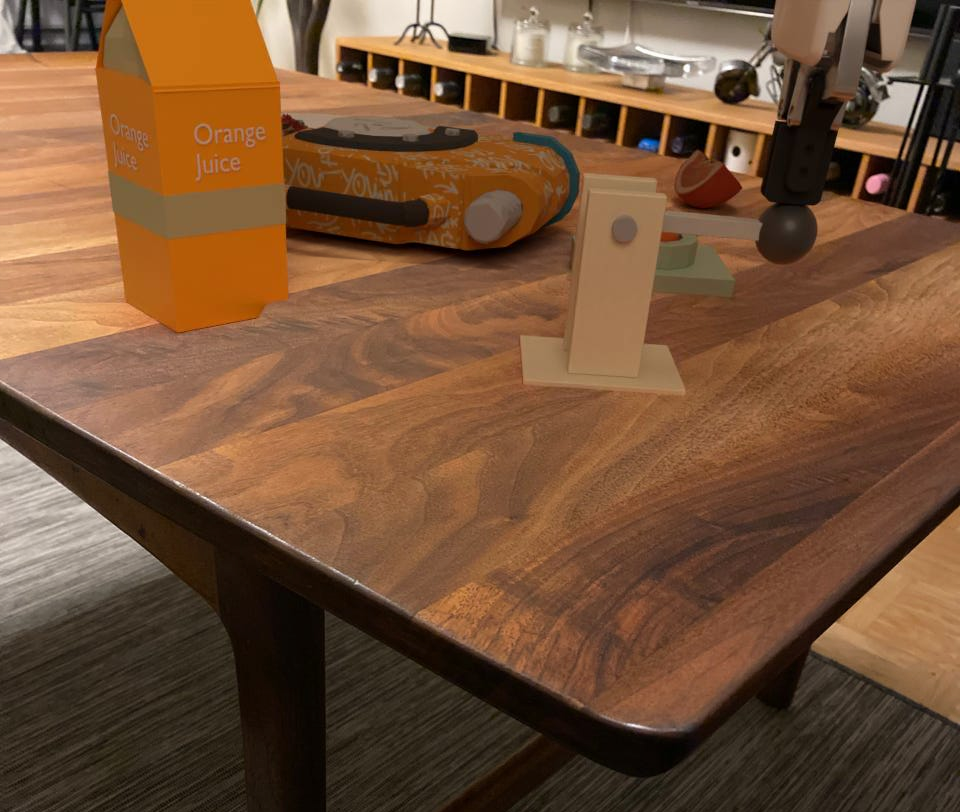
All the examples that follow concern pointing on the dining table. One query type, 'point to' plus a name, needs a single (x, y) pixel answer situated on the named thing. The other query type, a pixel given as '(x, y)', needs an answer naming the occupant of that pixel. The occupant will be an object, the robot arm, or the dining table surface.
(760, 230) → the lever
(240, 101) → the orange juice
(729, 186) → the broken clay pot piece
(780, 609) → the dining table surface
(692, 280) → the button housing
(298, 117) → the plated food
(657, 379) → the lever stand
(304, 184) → the orange patterned backpack
